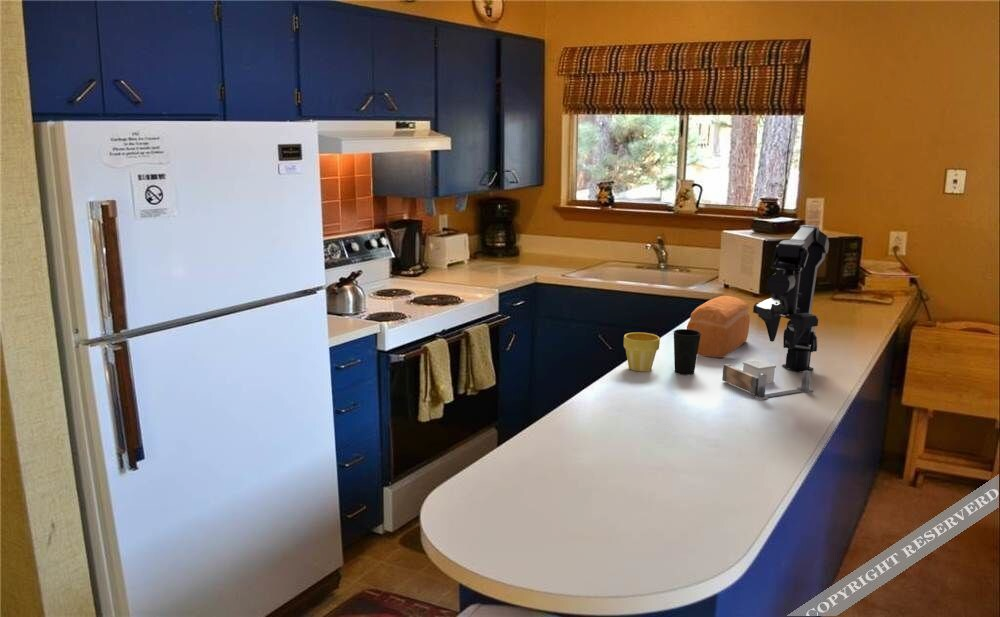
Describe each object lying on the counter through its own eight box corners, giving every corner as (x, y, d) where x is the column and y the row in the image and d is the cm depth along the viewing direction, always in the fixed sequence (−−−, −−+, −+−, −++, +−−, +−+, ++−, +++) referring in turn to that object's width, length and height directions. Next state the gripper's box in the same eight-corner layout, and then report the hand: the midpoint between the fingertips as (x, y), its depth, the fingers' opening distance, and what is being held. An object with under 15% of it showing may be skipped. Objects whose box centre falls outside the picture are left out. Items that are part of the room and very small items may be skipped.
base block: (758, 375, 237) (760, 359, 236) (774, 382, 231) (776, 365, 230) (741, 378, 234) (742, 361, 233) (756, 385, 229) (758, 368, 227)
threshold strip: (796, 390, 225) (797, 389, 225) (802, 392, 223) (802, 391, 223) (762, 395, 220) (762, 394, 219) (767, 398, 218) (767, 397, 218)
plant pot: (636, 361, 249) (638, 330, 246) (664, 368, 242) (666, 336, 239) (615, 367, 242) (616, 335, 239) (643, 376, 234) (646, 343, 232)
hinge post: (760, 394, 220) (763, 371, 219) (770, 399, 217) (772, 375, 216) (750, 396, 219) (752, 373, 217) (759, 400, 216) (762, 377, 214)
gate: (759, 393, 219) (760, 377, 218) (754, 394, 219) (756, 378, 218) (726, 379, 231) (727, 364, 230) (722, 380, 230) (723, 364, 229)
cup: (698, 377, 234) (701, 336, 232) (670, 375, 236) (673, 334, 233) (697, 369, 242) (700, 330, 239) (671, 367, 243) (673, 328, 240)
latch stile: (804, 387, 227) (806, 369, 225) (813, 391, 224) (815, 372, 223) (796, 389, 225) (798, 370, 224) (804, 392, 223) (806, 373, 221)
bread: (681, 352, 259) (685, 304, 255) (709, 335, 280) (713, 290, 277) (724, 360, 252) (728, 310, 248) (749, 341, 273) (754, 295, 269)
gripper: (740, 284, 224) (735, 339, 228) (789, 298, 208) (783, 357, 211) (771, 281, 229) (766, 335, 232) (822, 295, 212) (816, 352, 216)
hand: (781, 344), depth 223 cm, fingers open, 7 cm apart
